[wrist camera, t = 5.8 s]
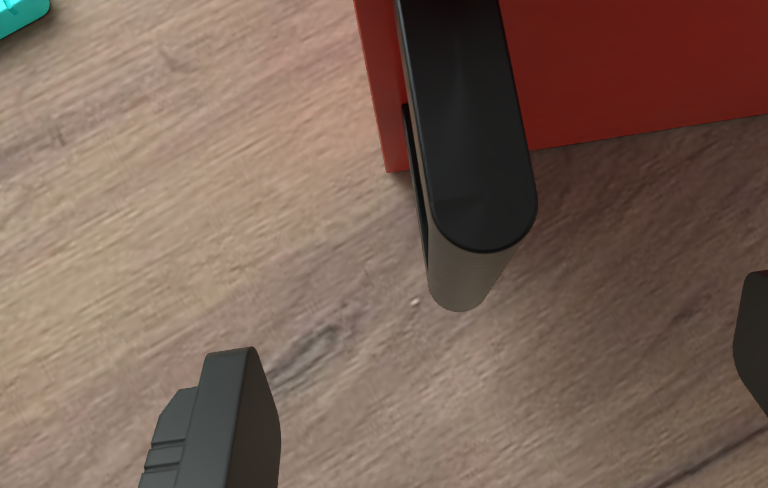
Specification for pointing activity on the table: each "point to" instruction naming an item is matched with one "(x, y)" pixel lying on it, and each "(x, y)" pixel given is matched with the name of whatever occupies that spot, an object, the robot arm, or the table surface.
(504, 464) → the table surface
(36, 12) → the handheld game console
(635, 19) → the door
